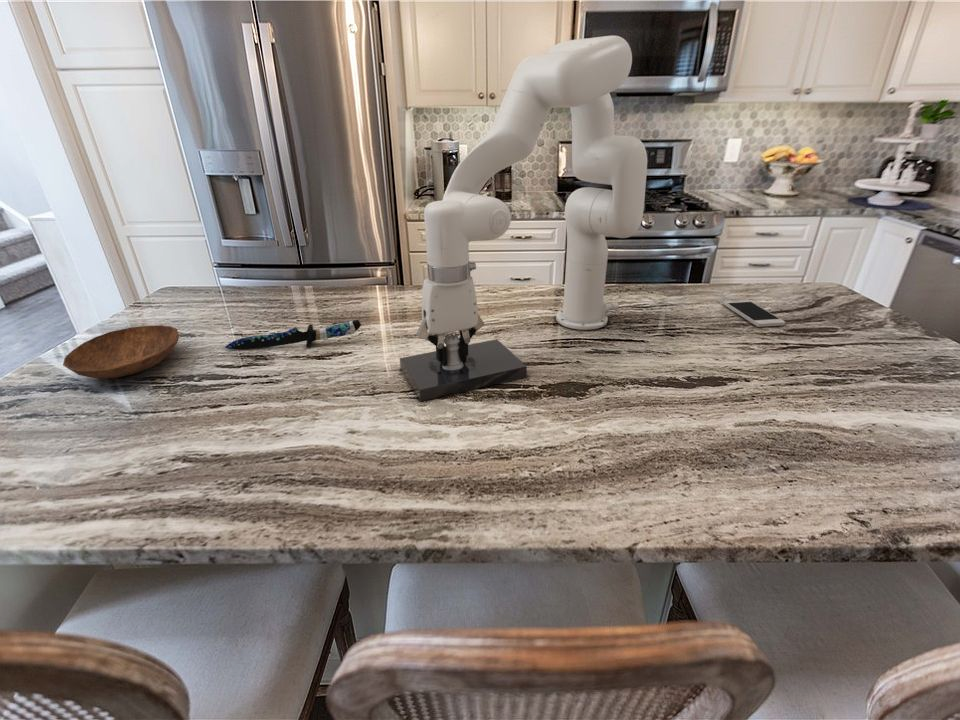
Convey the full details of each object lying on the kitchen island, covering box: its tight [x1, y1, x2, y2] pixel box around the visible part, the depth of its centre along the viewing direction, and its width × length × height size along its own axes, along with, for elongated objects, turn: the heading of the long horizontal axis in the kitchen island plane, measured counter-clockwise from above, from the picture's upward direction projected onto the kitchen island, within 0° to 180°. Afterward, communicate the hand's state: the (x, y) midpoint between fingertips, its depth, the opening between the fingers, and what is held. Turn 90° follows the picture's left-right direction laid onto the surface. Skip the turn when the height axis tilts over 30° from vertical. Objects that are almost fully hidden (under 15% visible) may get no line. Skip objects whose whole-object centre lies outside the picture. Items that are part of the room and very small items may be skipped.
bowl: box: [62, 325, 180, 379], centre depth 105 cm, size 20×22×5 cm
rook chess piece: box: [442, 332, 463, 370], centre depth 98 cm, size 4×4×8 cm
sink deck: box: [399, 339, 528, 402], centre depth 100 cm, size 22×14×2 cm, turn 113°
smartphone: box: [723, 299, 786, 328], centre depth 126 cm, size 7×16×1 cm, turn 6°
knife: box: [225, 319, 362, 351], centre depth 113 cm, size 31×3×4 cm, turn 93°
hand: (452, 360), depth 99 cm, fingers closed on rook chess piece, 3 cm apart
